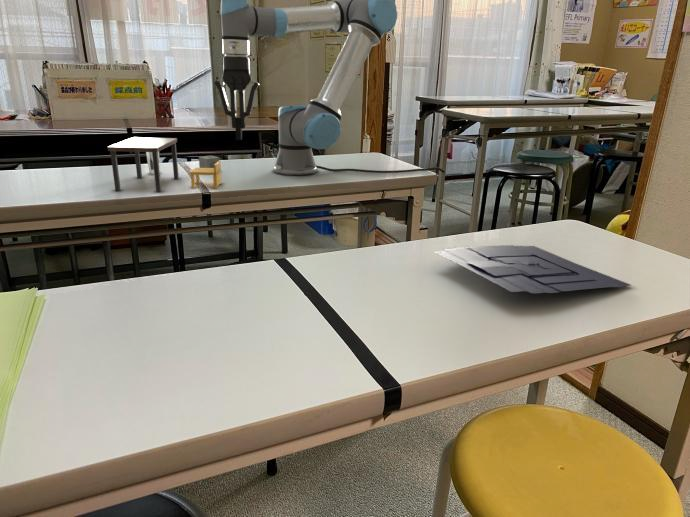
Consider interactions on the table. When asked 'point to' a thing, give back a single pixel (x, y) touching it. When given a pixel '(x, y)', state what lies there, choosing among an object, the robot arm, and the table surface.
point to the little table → (139, 146)
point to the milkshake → (150, 161)
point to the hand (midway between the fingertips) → (239, 139)
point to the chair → (207, 171)
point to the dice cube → (207, 161)
